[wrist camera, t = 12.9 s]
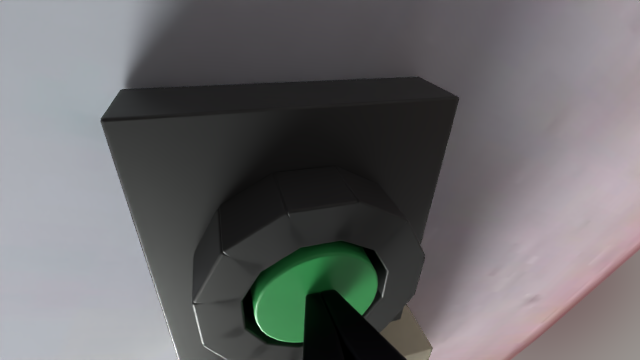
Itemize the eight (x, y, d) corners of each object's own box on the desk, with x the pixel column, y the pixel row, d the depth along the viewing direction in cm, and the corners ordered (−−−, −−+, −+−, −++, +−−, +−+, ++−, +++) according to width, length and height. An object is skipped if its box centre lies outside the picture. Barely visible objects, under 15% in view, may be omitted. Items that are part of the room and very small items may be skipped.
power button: (242, 223, 9) (249, 268, 8) (362, 205, 10) (387, 243, 9) (251, 306, 11) (258, 355, 10) (351, 285, 12) (371, 327, 11)
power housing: (119, 88, 9) (70, 158, 6) (419, 76, 11) (508, 120, 8) (185, 323, 14) (179, 430, 11) (379, 281, 16) (423, 359, 13)
